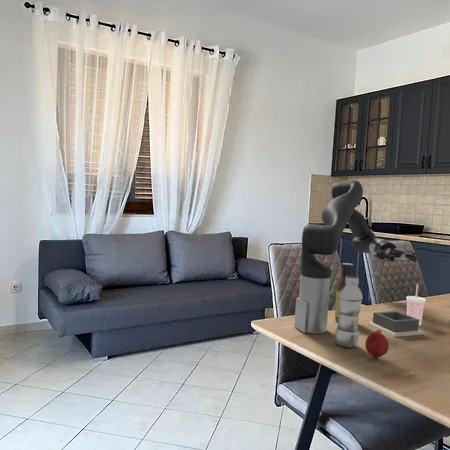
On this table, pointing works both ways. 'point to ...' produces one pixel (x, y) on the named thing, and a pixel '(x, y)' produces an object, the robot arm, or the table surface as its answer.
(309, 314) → the robot arm
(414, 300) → the beverage cup
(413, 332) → the grey tray on board
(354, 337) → the plastic bottle
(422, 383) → the table surface
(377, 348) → the onion
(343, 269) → the sauce bottle
